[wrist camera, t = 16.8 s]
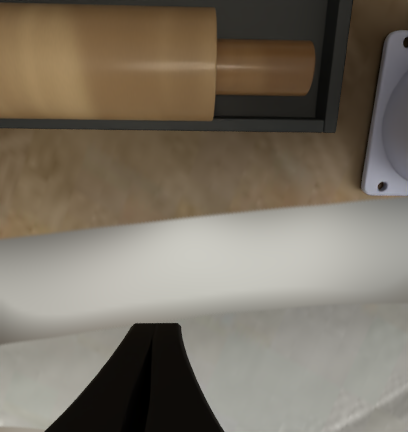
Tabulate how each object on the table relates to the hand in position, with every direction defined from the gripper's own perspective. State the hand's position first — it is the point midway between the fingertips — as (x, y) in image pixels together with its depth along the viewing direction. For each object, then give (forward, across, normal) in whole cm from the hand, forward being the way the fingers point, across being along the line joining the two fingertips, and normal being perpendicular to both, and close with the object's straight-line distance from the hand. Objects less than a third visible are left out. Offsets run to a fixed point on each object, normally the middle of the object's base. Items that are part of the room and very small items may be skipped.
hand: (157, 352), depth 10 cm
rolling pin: (+8, +3, -8) cm, 12 cm away
